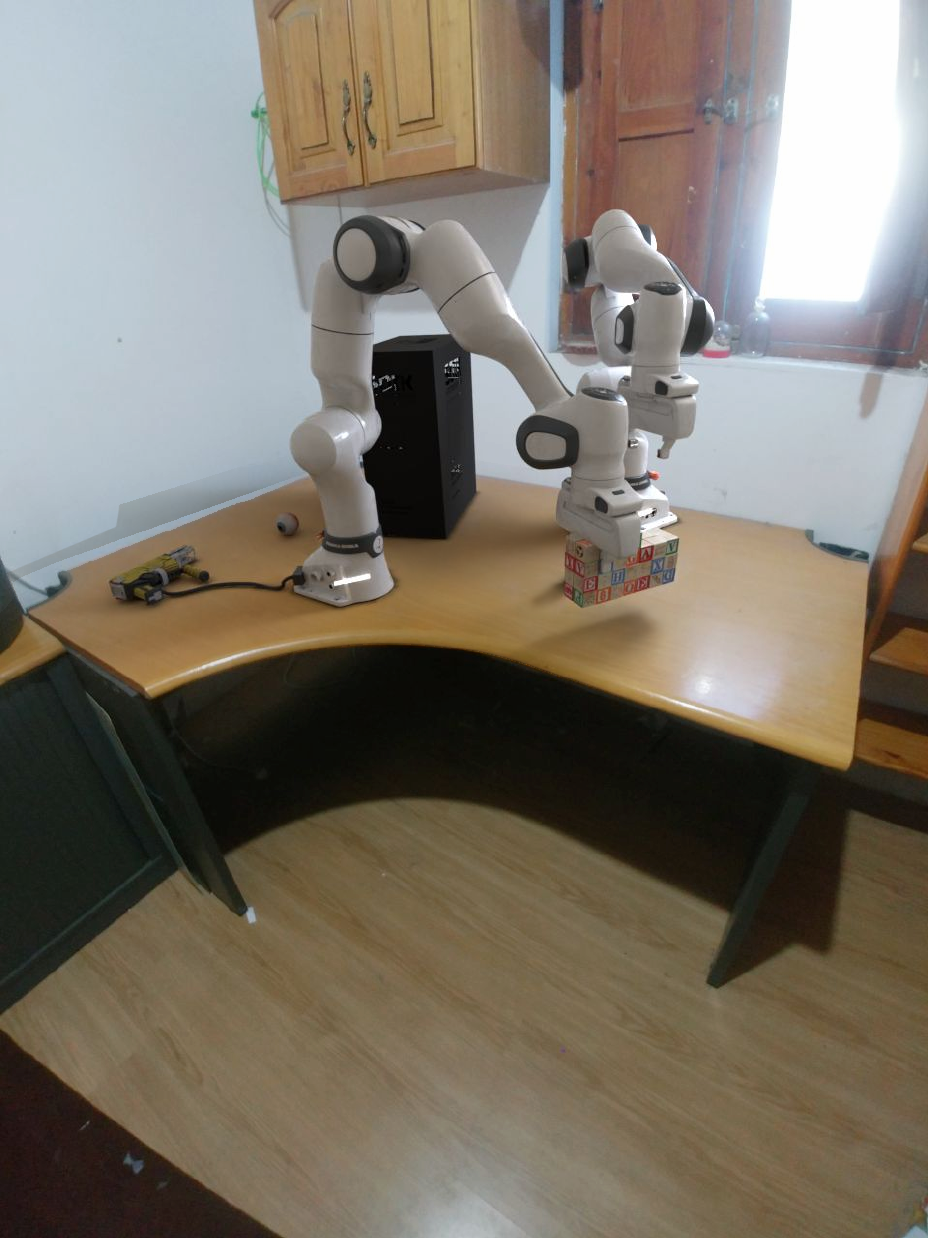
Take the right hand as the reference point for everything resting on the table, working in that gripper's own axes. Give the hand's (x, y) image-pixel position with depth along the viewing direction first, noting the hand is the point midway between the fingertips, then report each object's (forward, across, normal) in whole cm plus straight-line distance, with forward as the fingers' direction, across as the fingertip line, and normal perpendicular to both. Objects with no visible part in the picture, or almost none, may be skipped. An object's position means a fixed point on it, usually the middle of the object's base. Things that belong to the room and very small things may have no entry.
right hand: (646, 452), depth 121 cm
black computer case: (+27, -61, -25) cm, 71 cm away
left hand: (+14, +14, -22) cm, 29 cm away
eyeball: (+27, -66, -64) cm, 96 cm away
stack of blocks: (+21, +14, -15) cm, 29 cm away
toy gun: (+27, -49, -94) cm, 110 cm away
